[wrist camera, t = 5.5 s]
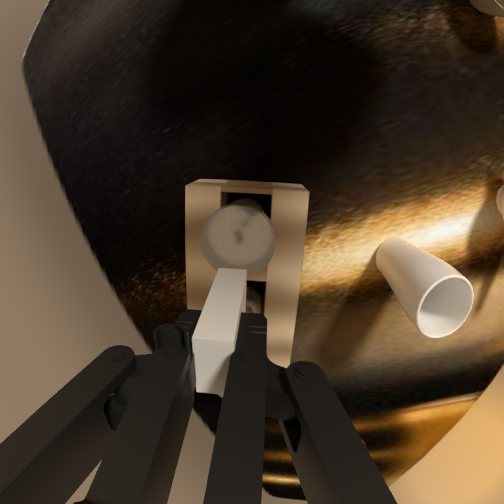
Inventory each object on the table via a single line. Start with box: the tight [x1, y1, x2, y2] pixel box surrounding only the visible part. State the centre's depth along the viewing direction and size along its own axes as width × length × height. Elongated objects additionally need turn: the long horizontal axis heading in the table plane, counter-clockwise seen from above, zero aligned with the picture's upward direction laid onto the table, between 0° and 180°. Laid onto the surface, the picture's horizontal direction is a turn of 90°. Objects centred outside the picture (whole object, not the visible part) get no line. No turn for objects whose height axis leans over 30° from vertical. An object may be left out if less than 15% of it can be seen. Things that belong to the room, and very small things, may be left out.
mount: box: [185, 179, 309, 368], centre depth 37 cm, size 24×12×7 cm, turn 177°
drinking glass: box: [376, 237, 474, 338], centre depth 32 cm, size 7×7×15 cm
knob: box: [201, 198, 275, 277], centre depth 27 cm, size 5×5×8 cm
